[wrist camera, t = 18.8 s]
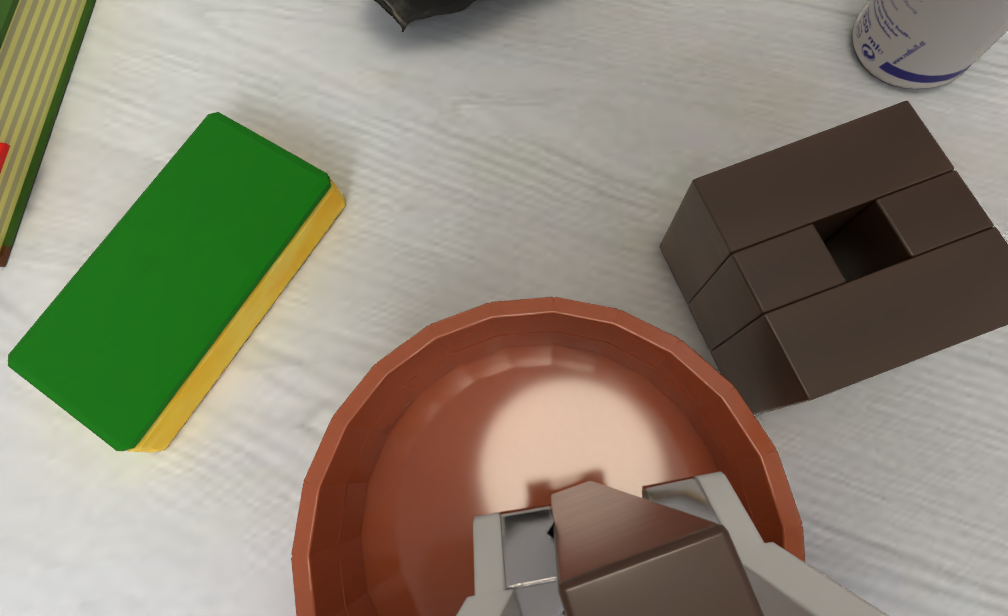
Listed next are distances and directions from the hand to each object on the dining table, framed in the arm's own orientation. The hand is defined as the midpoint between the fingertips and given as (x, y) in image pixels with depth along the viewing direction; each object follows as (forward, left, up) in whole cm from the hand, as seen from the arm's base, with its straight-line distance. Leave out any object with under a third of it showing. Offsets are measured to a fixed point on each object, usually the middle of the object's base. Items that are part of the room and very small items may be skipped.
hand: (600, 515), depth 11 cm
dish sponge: (+14, +13, -12) cm, 23 cm away
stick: (-1, 0, -10) cm, 10 cm away
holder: (+4, -11, -12) cm, 17 cm away
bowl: (-1, +2, -12) cm, 12 cm away
